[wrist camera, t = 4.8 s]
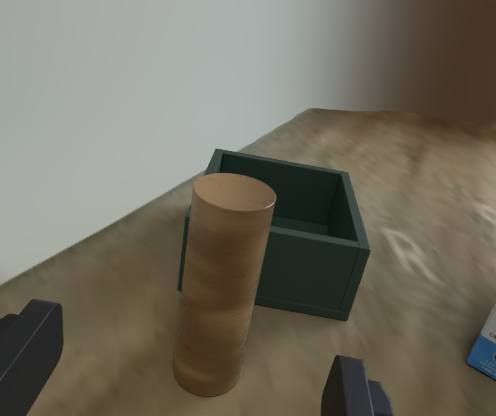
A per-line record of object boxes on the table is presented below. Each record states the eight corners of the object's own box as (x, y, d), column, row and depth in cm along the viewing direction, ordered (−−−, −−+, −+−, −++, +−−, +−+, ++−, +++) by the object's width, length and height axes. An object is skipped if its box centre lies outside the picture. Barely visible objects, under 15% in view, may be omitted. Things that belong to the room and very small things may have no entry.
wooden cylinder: (165, 389, 25) (185, 200, 20) (180, 339, 29) (201, 167, 23) (235, 402, 25) (275, 217, 20) (242, 350, 29) (277, 181, 23)
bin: (177, 290, 33) (185, 215, 30) (207, 207, 45) (215, 148, 42) (347, 321, 33) (371, 249, 30) (332, 229, 45) (348, 172, 42)
